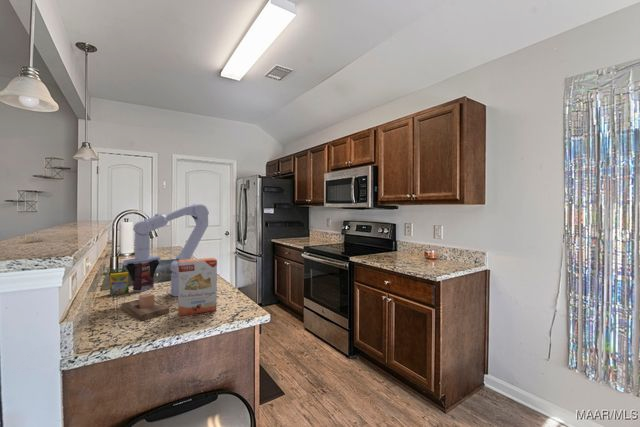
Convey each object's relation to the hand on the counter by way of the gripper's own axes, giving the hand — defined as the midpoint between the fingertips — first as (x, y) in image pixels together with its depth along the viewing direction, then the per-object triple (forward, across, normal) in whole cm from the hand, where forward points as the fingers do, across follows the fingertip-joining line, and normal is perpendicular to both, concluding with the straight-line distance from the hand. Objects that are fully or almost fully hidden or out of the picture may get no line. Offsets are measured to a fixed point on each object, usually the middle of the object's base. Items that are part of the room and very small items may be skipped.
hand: (142, 278), depth 133 cm
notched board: (+9, +5, +15) cm, 18 cm away
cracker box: (+10, -8, +32) cm, 34 cm away
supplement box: (+10, -7, -17) cm, 21 cm away
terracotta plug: (+10, +4, +15) cm, 18 cm away
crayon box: (+10, +3, -19) cm, 21 cm away
